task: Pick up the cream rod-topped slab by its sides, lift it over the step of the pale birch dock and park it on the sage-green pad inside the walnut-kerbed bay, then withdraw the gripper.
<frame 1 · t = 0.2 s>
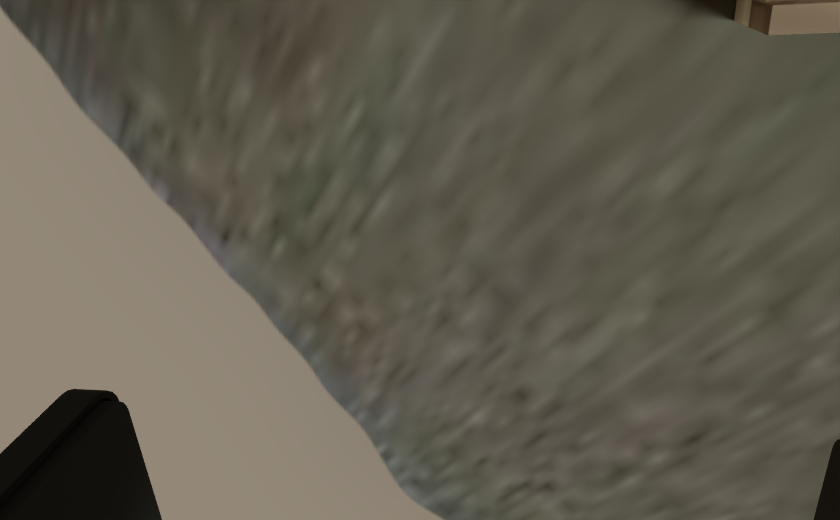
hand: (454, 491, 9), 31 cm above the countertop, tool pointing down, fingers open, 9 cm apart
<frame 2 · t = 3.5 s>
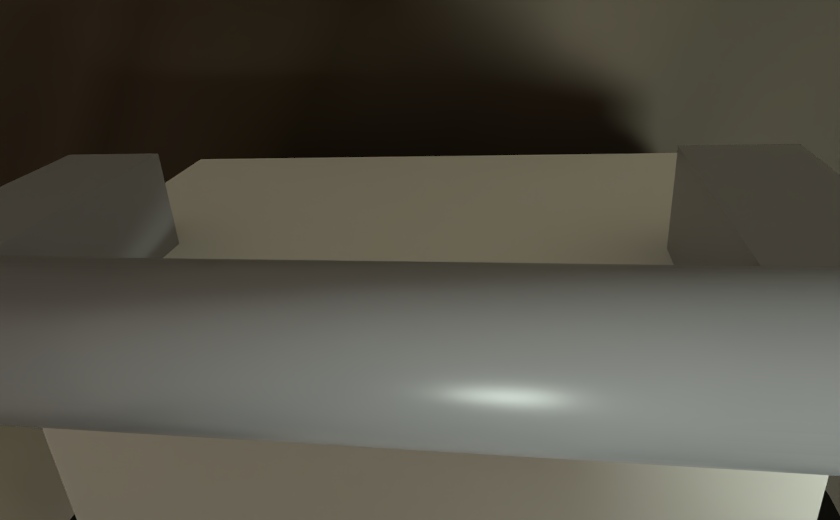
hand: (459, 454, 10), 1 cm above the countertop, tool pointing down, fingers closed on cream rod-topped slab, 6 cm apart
cream rod-topped slab: (466, 405, 11), on the countertop, touching gripper
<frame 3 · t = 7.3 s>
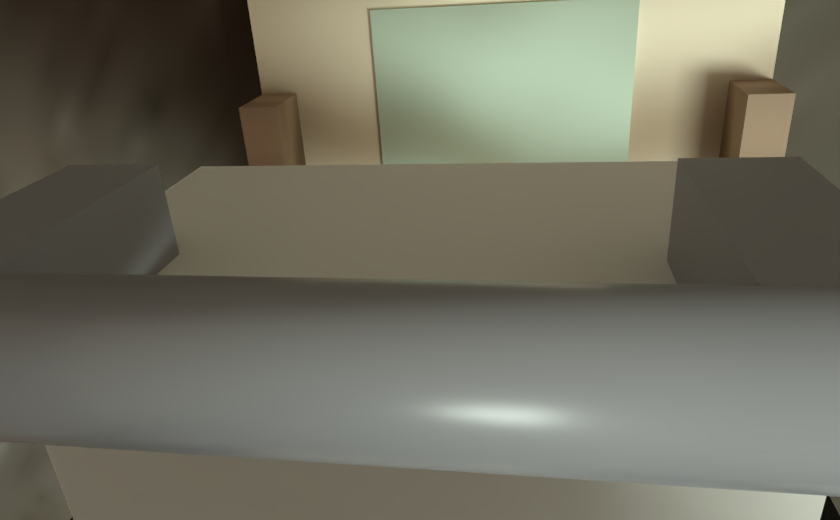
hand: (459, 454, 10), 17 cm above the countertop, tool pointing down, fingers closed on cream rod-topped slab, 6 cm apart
cream rod-topped slab: (466, 411, 11), point 15 cm above the countertop, touching gripper
dock: (504, 101, 24), on the countertop
when the fingers open (5 cm above the countertop, at t = 11.0 s): cream rod-topped slab drops 1 cm, resting on dock.
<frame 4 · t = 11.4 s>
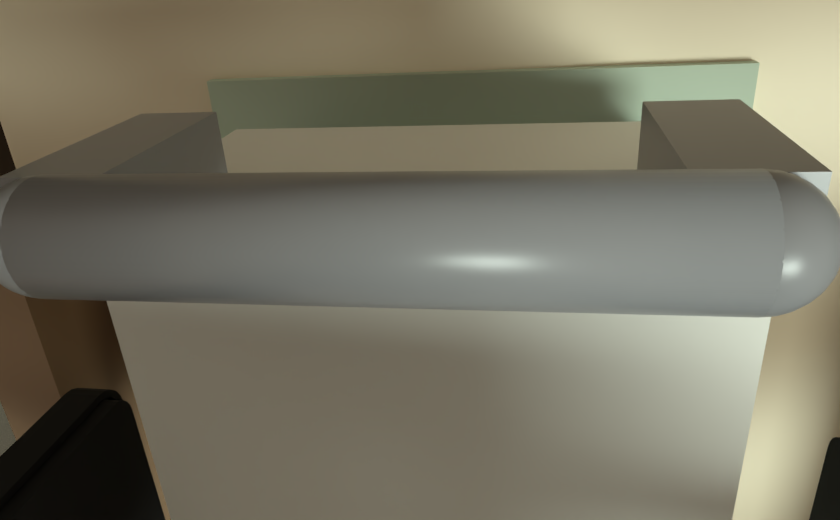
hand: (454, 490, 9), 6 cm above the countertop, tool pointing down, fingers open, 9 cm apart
cream rod-topped slab: (469, 359, 12), point 3 cm above the countertop, touching dock
dock: (482, 224, 14), on the countertop
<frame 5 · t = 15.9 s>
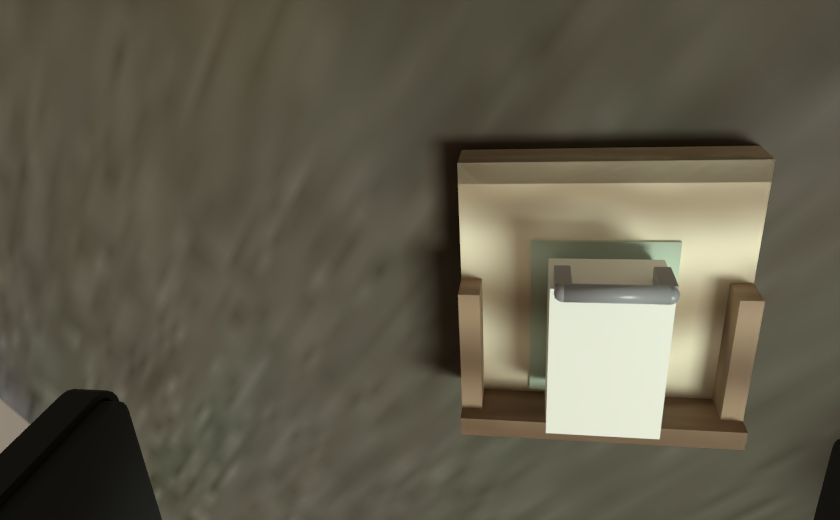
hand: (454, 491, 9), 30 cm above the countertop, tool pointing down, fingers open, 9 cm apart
cream rod-topped slab: (599, 320, 38), point 3 cm above the countertop, touching dock
dock: (597, 276, 40), on the countertop
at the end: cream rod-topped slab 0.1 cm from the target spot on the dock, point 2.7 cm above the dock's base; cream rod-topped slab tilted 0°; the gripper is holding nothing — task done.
